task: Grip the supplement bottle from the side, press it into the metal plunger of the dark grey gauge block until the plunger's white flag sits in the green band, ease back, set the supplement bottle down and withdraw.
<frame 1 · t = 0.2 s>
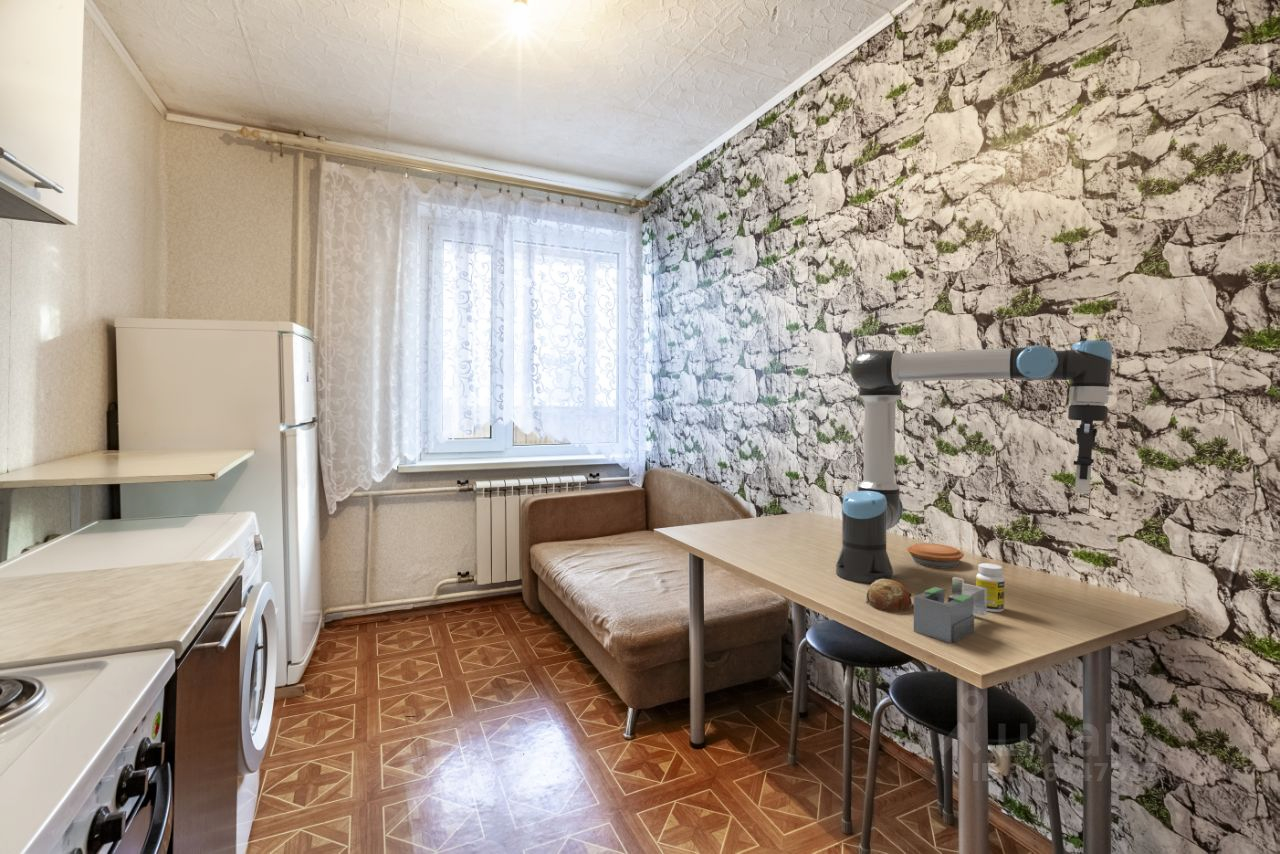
hand: (1081, 490, 136), 27 cm above the table, tool pointing down, fingers open, 13 cm apart
pie: (934, 563, 170), on the table
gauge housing: (970, 617, 125), on the table
plunger: (964, 596, 123), point 6 cm above the table, slide at 0.0 cm
supplement bottle: (989, 609, 131), on the table
bread roll: (888, 605, 135), on the table
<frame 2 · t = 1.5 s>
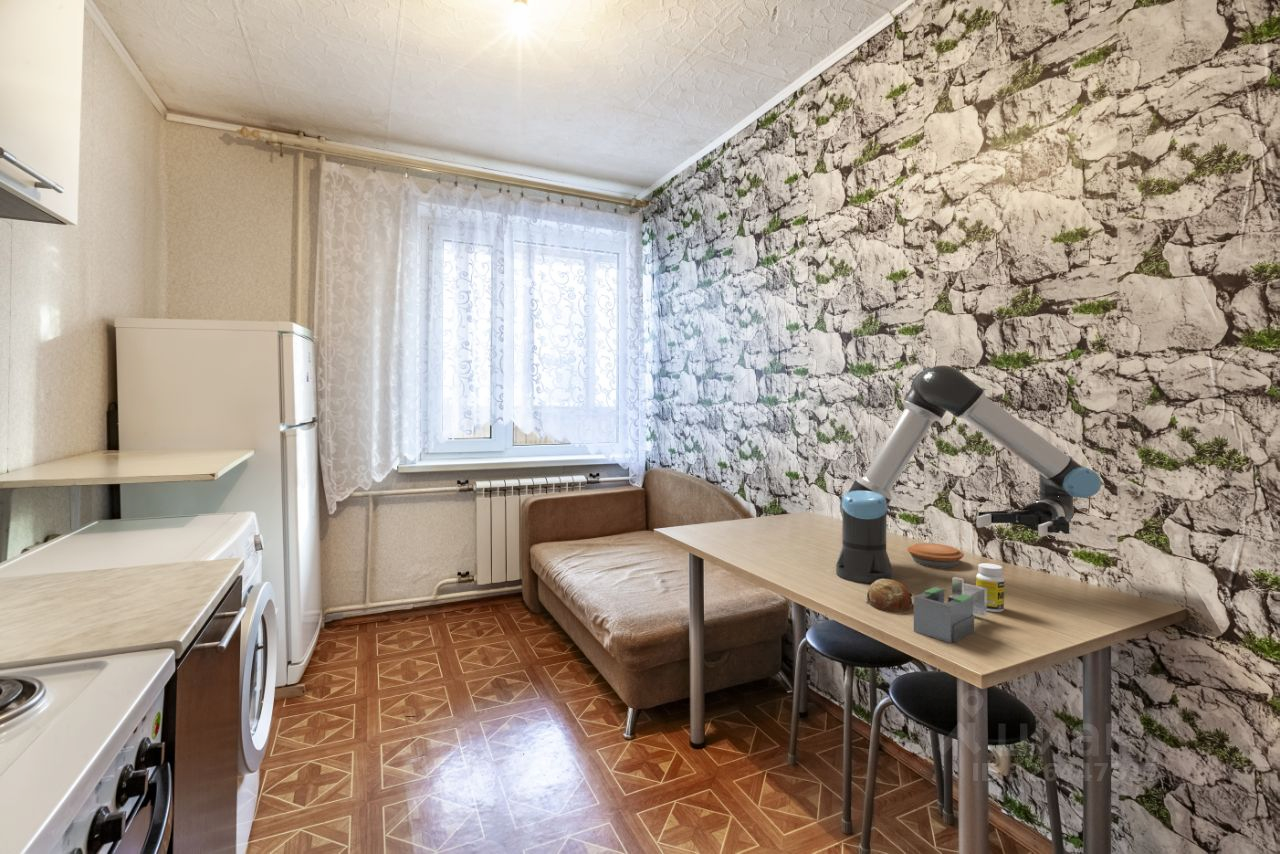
hand: (1007, 526, 136), 18 cm above the table, tool horizontal, fingers open, 13 cm apart
nothing on the table moved.
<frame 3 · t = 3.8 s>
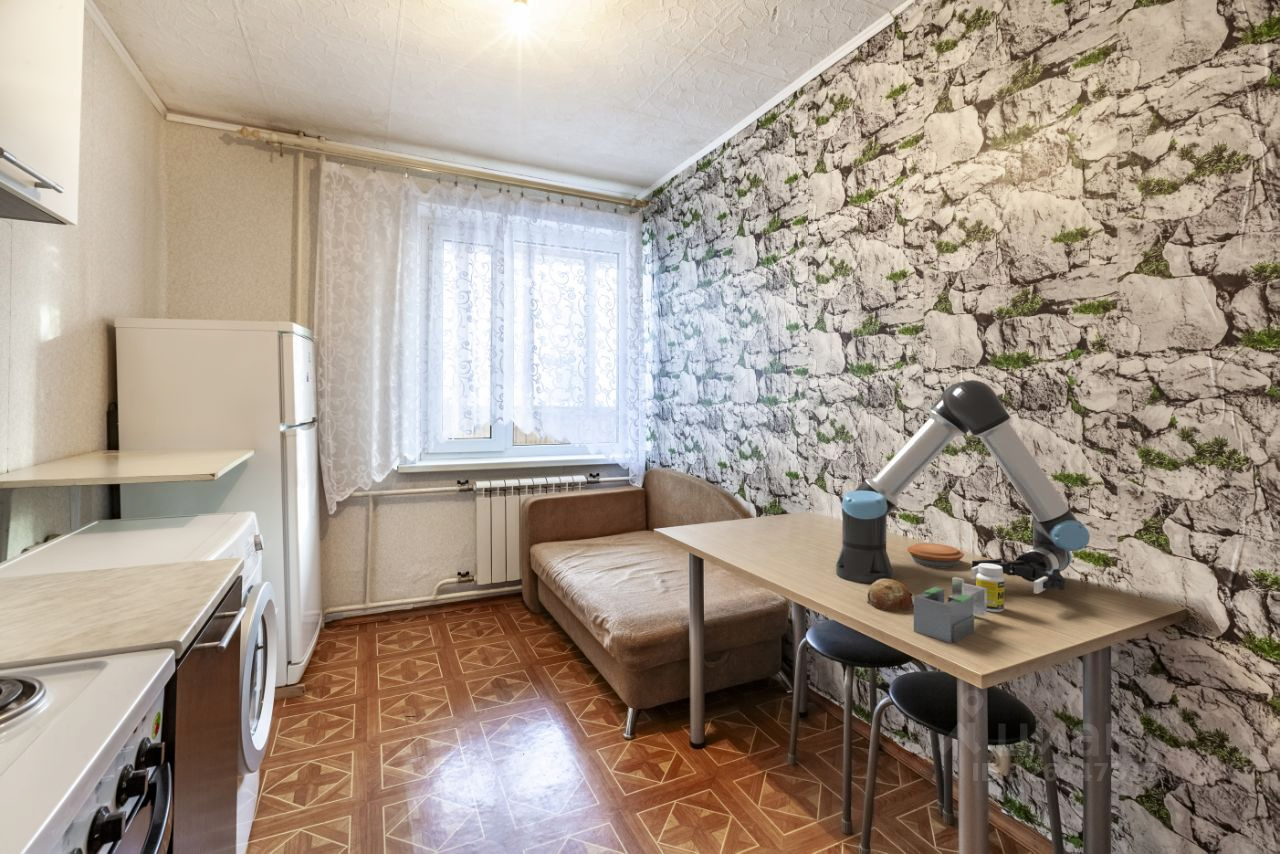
hand: (1002, 580, 134), 6 cm above the table, tool horizontal, fingers open, 13 cm apart
nothing on the table moved.
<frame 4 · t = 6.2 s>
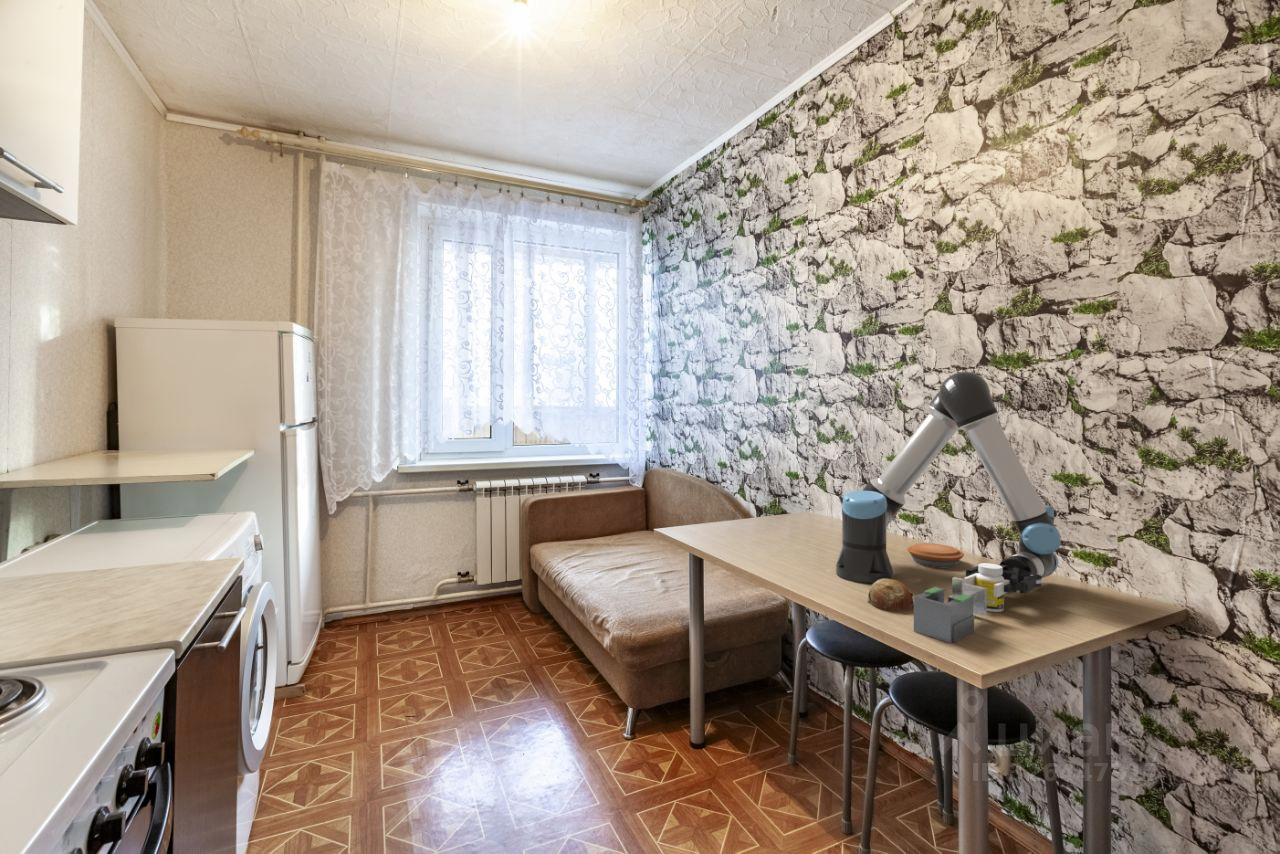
hand: (980, 587, 128), 6 cm above the table, tool horizontal, fingers closed on supplement bottle, 6 cm apart
supplement bottle: (989, 609, 131), on the table, touching gripper
everything else where it was.
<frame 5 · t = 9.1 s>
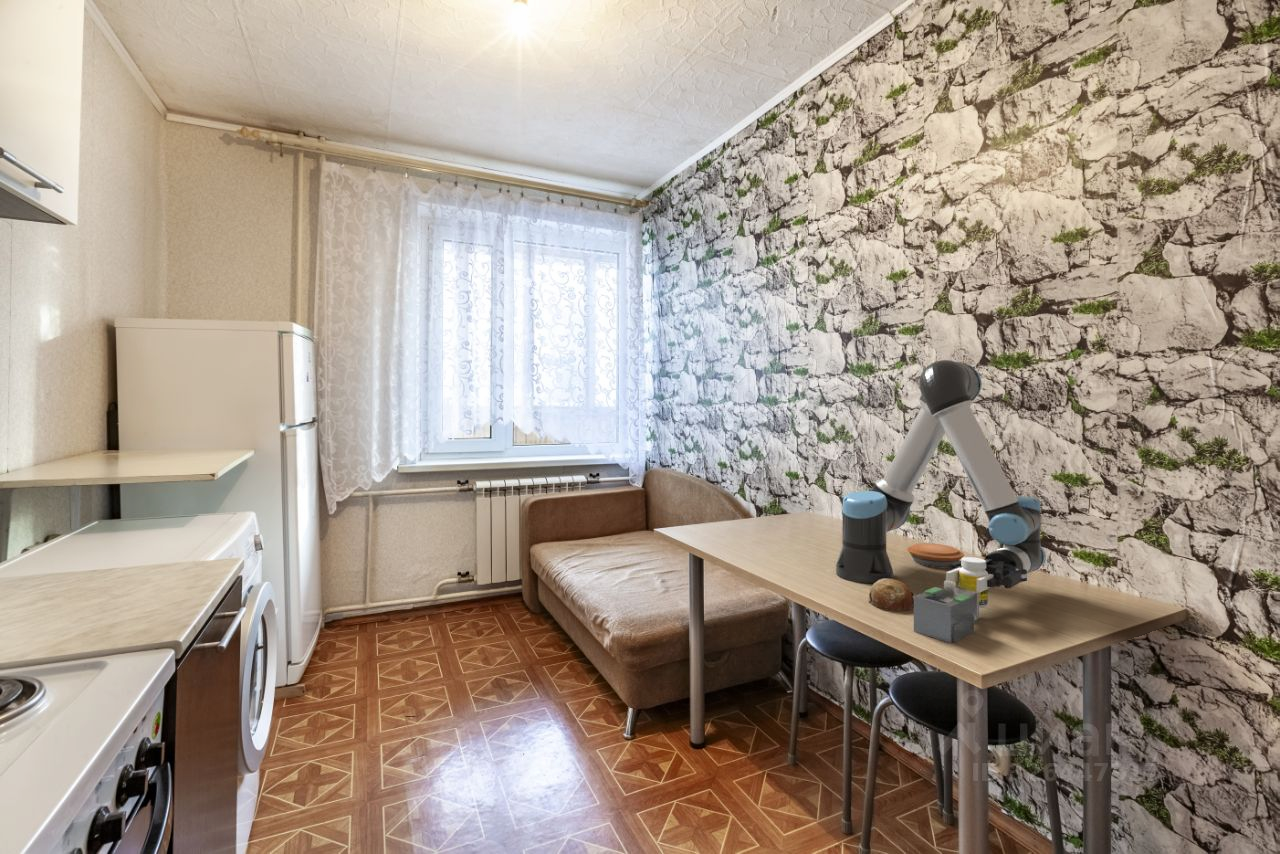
hand: (962, 582, 123), 9 cm above the table, tool horizontal, fingers closed on supplement bottle, 6 cm apart
plunger: (956, 599, 121), point 6 cm above the table, slide at 3.8 cm, touching supplement bottle
supplement bottle: (973, 604, 126), point 3 cm above the table, touching gripper, plunger
everything else where it was.
when the fingers open (7 cm above the table, at t = 10.8 s): supplement bottle stays where it is, on the table.
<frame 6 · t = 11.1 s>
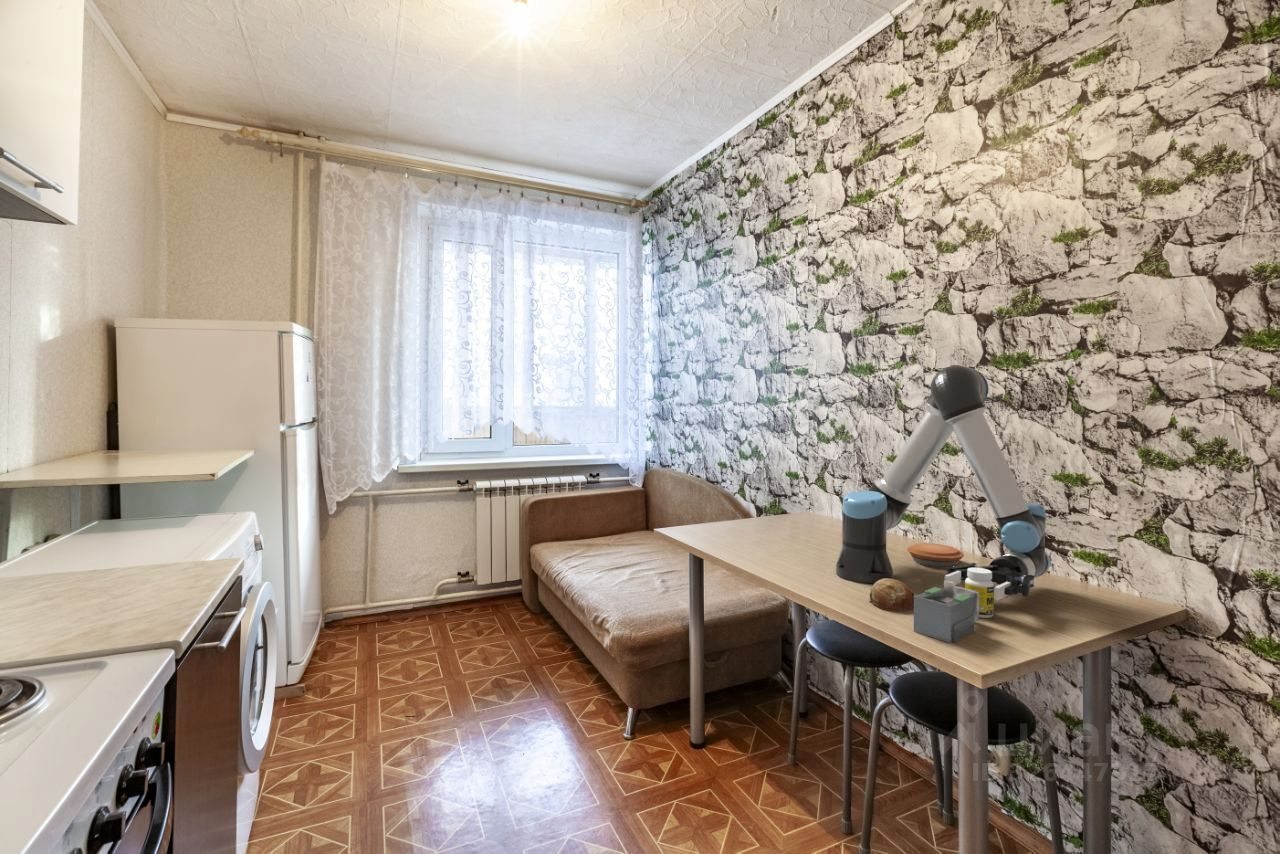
hand: (970, 587, 125), 7 cm above the table, tool horizontal, fingers open, 10 cm apart
plunger: (956, 599, 121), point 6 cm above the table, slide at 3.8 cm
supplement bottle: (978, 614, 128), on the table
everything else where it was.
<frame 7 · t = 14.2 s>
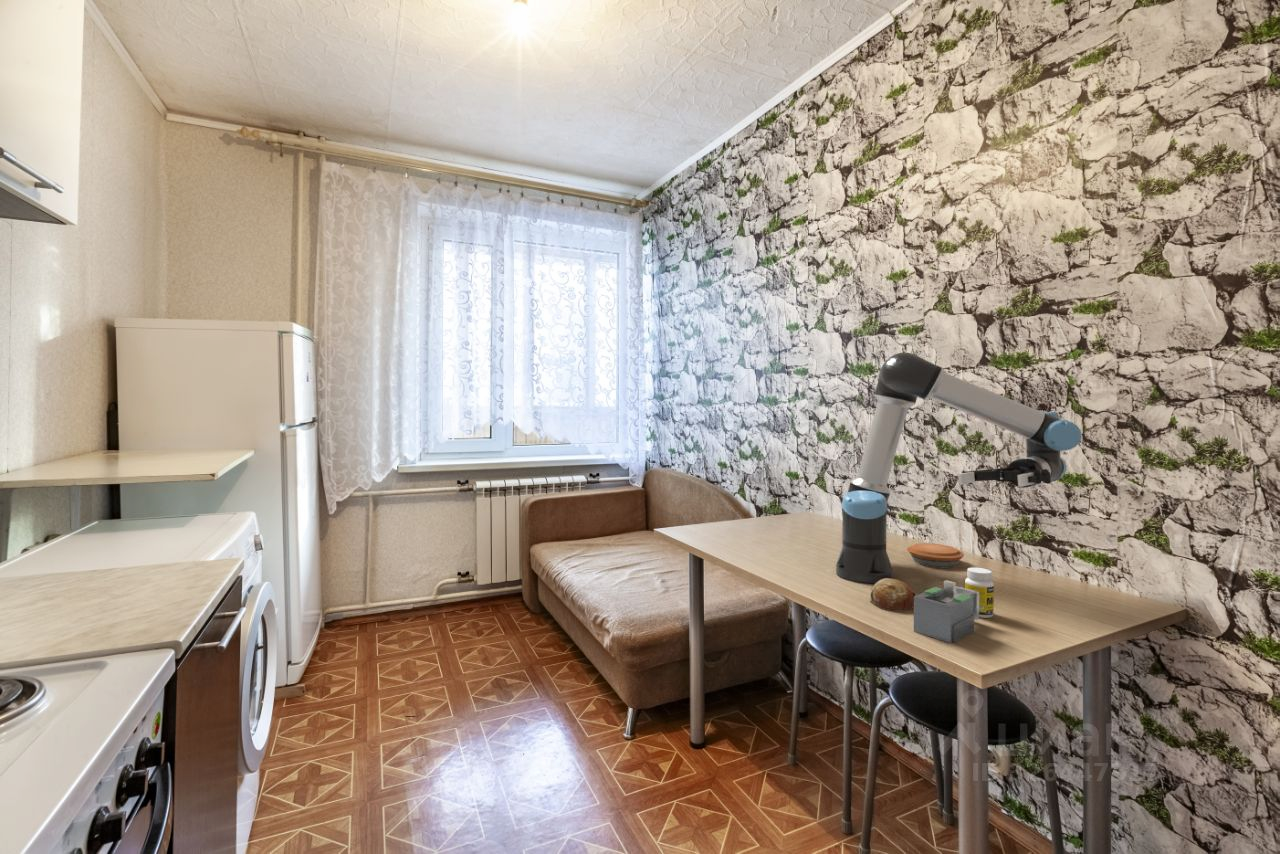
hand: (988, 480, 135), 30 cm above the table, tool horizontal, fingers open, 13 cm apart
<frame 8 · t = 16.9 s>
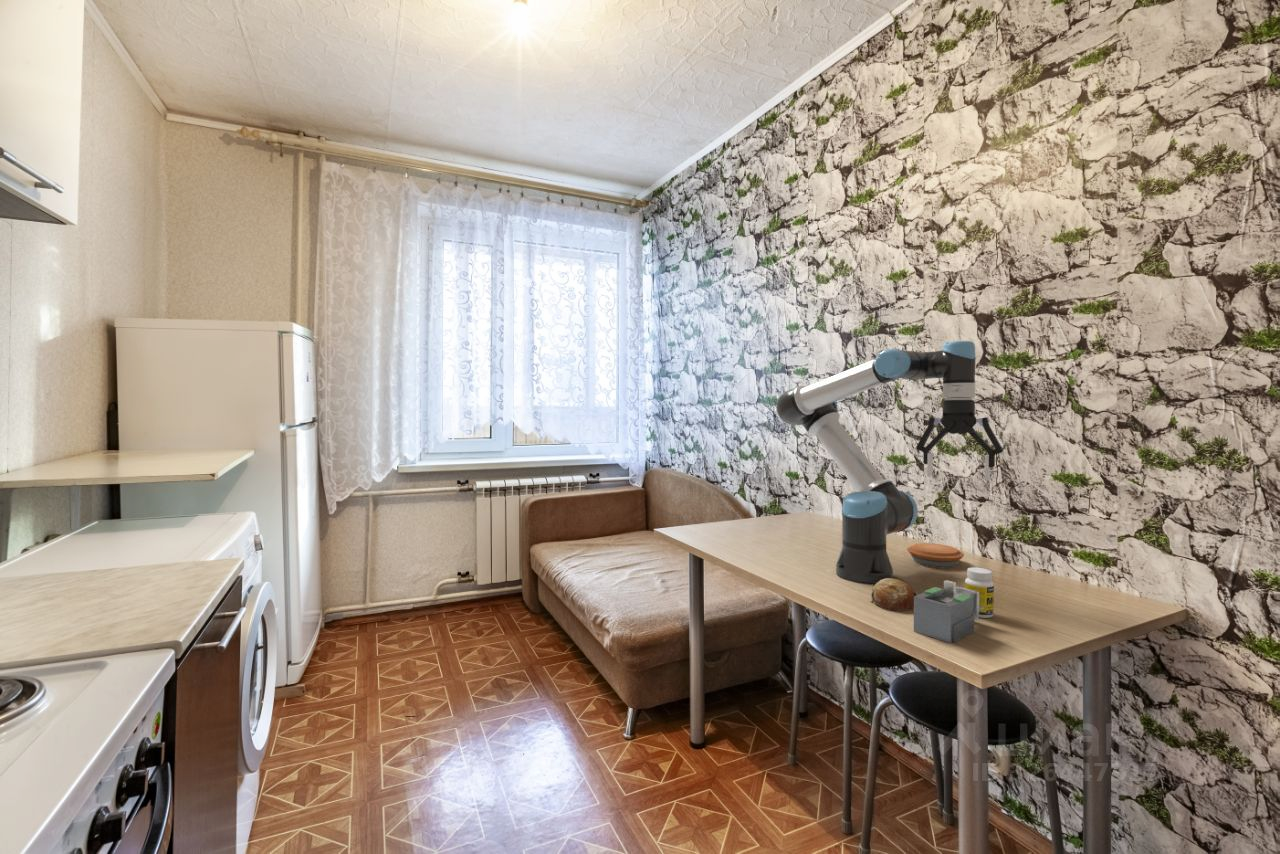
hand: (957, 478, 149), 29 cm above the table, tool pointing down, fingers open, 13 cm apart
at the end: plunger slide at 3.8 cm; the gripper is holding nothing; supplement bottle tilted 0° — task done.
